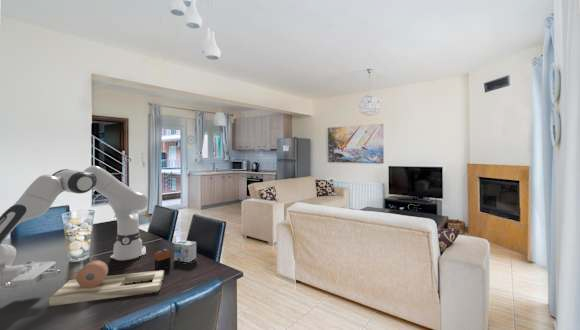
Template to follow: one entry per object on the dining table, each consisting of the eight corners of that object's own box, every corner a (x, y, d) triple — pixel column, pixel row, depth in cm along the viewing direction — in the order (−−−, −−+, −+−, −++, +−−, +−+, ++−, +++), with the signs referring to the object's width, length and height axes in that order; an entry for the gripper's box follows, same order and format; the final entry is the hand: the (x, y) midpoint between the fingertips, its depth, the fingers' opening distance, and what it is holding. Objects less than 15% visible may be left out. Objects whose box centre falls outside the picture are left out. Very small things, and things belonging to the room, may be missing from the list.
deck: (69, 286, 124) (69, 280, 124) (164, 275, 136) (164, 269, 136) (49, 306, 108) (49, 298, 108) (159, 291, 120) (159, 285, 120)
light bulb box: (173, 261, 155) (173, 243, 154) (181, 257, 161) (181, 239, 161) (188, 264, 151) (188, 245, 151) (196, 260, 158) (196, 241, 157)
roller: (82, 283, 121) (82, 261, 121) (108, 280, 124) (108, 259, 124) (76, 289, 115) (76, 266, 115) (103, 287, 118) (103, 264, 118)
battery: (170, 267, 147) (170, 249, 146) (158, 271, 141) (158, 252, 141) (166, 265, 149) (166, 247, 149) (154, 269, 144) (154, 251, 143)
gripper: (-1, 279, 101) (45, 275, 105) (32, 260, 120) (69, 257, 125) (-1, 296, 101) (45, 291, 105) (32, 274, 120) (69, 270, 125)
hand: (58, 272), depth 115 cm, fingers closed
